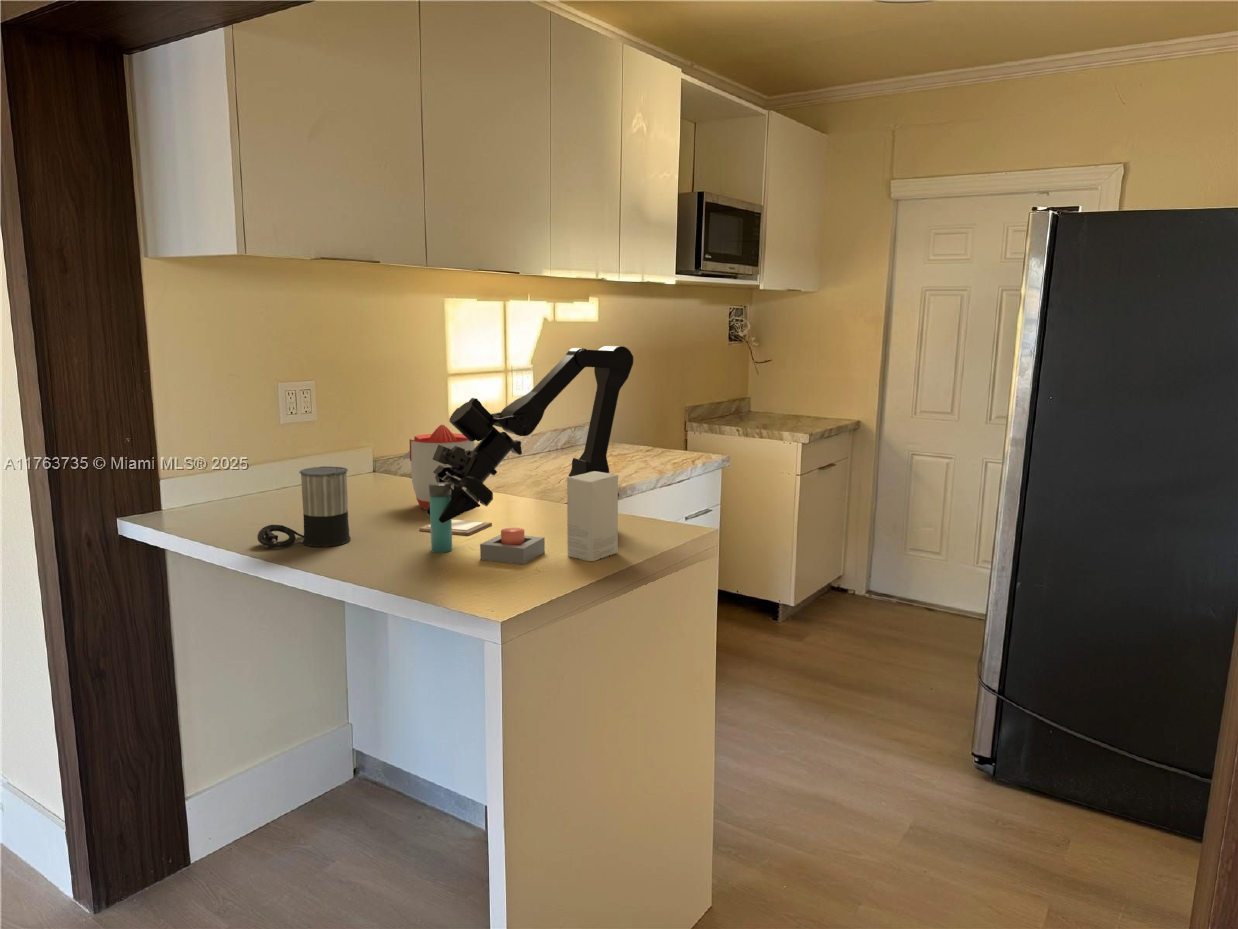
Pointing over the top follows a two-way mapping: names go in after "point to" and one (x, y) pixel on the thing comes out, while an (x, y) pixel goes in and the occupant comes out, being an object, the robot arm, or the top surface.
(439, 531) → the marker
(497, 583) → the top surface
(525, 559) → the button box
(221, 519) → the top surface
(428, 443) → the citrus juicer
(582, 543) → the skincare box
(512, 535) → the button
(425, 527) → the brown picture frame
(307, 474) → the milk frother
